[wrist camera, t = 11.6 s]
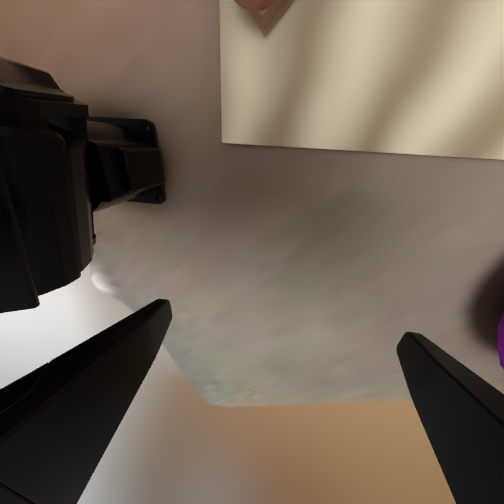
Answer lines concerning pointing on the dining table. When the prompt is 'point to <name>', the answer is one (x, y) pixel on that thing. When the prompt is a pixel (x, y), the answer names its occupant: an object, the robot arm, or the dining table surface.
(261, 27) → the lever
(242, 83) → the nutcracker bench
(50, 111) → the robot arm
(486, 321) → the dining table surface
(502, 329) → the decorative plant
